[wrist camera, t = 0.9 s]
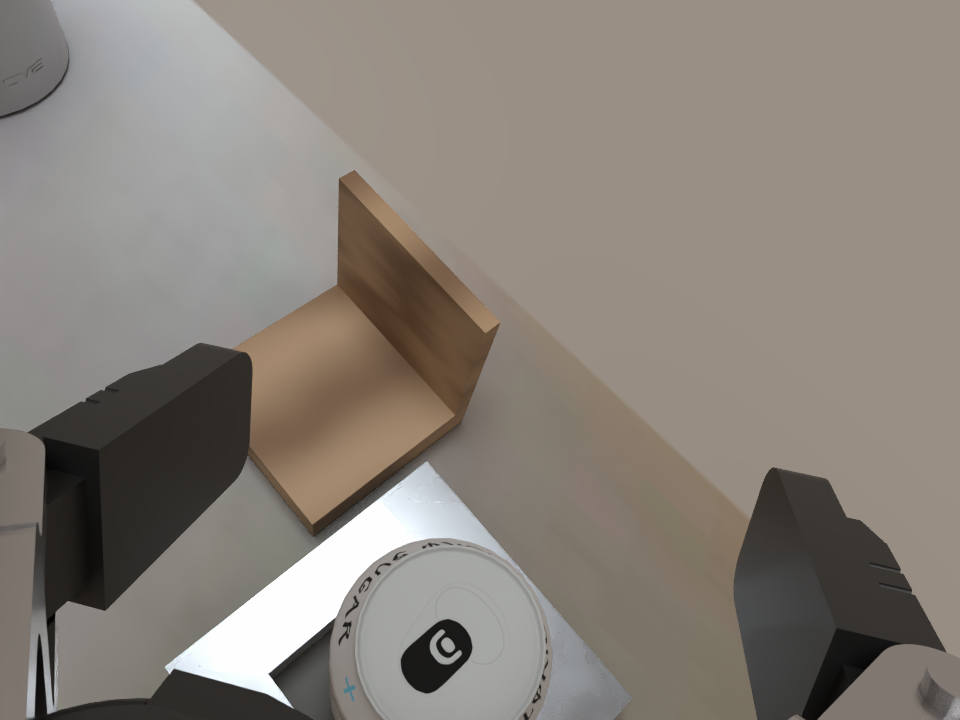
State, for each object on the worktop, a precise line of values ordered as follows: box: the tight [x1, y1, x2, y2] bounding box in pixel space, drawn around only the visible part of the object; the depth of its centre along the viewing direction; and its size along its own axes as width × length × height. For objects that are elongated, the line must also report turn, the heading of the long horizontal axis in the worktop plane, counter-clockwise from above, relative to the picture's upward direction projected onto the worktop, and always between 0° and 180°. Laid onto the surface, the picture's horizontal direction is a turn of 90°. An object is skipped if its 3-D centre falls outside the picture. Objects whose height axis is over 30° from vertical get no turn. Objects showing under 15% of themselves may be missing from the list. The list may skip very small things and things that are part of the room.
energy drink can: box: [329, 538, 552, 720], centre depth 26 cm, size 6×6×15 cm
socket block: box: [165, 462, 632, 720], centre depth 31 cm, size 13×13×2 cm
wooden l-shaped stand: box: [232, 170, 500, 536], centre depth 33 cm, size 9×9×10 cm
